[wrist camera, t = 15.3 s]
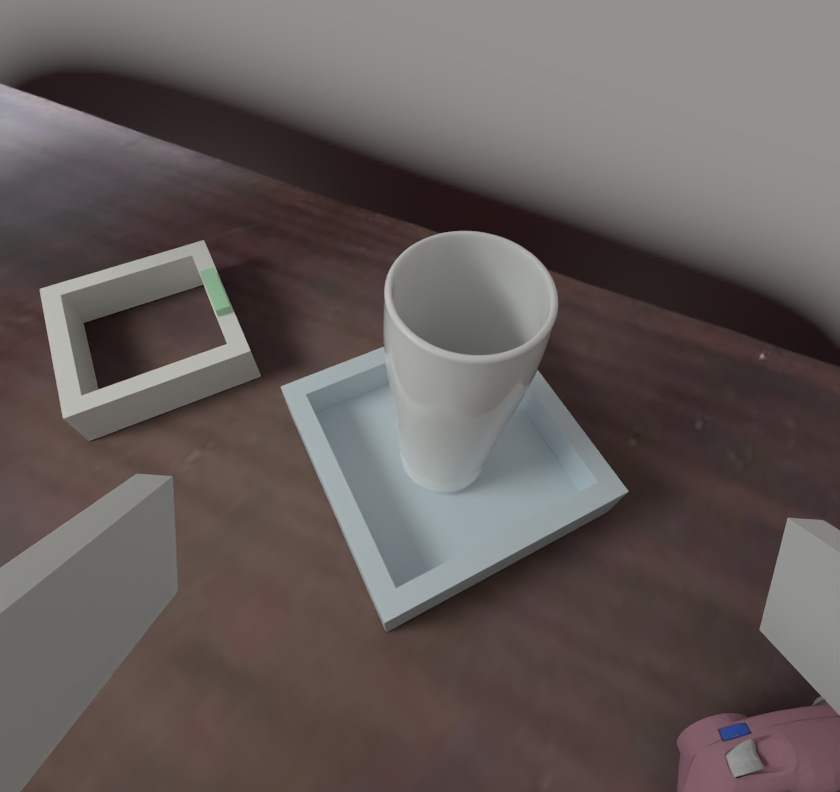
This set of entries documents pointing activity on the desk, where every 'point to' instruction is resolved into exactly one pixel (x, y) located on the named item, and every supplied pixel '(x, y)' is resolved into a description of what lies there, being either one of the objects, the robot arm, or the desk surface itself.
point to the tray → (443, 512)
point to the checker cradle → (156, 388)
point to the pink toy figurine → (762, 752)
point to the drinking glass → (461, 349)
